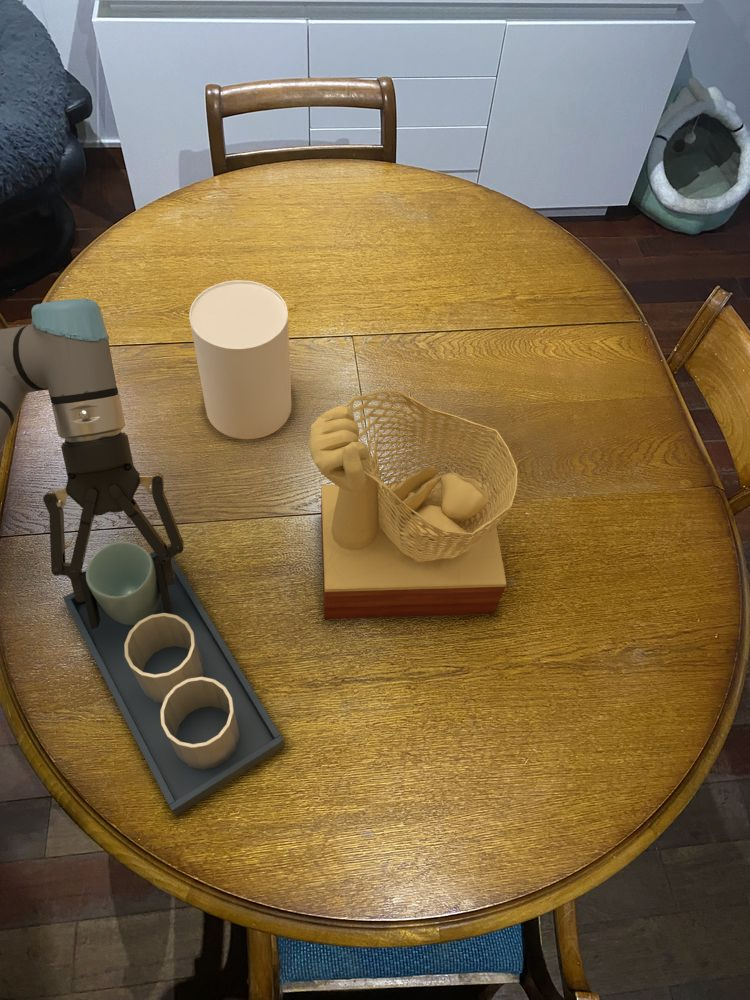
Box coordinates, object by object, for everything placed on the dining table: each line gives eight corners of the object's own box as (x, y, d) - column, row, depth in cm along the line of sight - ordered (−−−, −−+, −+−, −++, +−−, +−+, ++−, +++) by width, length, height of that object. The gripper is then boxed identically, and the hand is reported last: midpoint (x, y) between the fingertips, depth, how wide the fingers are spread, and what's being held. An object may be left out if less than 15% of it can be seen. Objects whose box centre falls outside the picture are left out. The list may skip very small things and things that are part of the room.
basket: (311, 623, 106) (310, 473, 76) (309, 511, 115) (307, 340, 86) (493, 617, 108) (559, 469, 79) (475, 507, 118) (528, 340, 88)
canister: (201, 439, 121) (183, 347, 105) (210, 373, 129) (195, 278, 112) (289, 441, 122) (285, 350, 106) (293, 376, 130) (290, 282, 113)
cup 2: (130, 666, 101) (113, 634, 92) (186, 635, 104) (175, 601, 95) (157, 718, 97) (142, 690, 89) (215, 684, 100) (206, 654, 92)
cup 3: (162, 728, 97) (148, 700, 88) (221, 693, 100) (212, 664, 91) (192, 784, 93) (180, 761, 85) (252, 747, 96) (245, 721, 88)
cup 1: (92, 619, 100) (71, 583, 92) (126, 570, 104) (109, 531, 96) (145, 642, 99) (129, 608, 90) (177, 592, 103) (165, 554, 95)
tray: (69, 608, 105) (62, 597, 102) (169, 557, 110) (165, 545, 107) (176, 817, 91) (171, 811, 88) (284, 748, 96) (284, 740, 94)
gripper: (-9, 454, 86) (37, 645, 91) (183, 425, 90) (217, 610, 95) (7, 445, 93) (49, 623, 98) (184, 419, 97) (216, 591, 102)
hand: (132, 617), depth 97 cm, fingers closed on cup 1, 8 cm apart
